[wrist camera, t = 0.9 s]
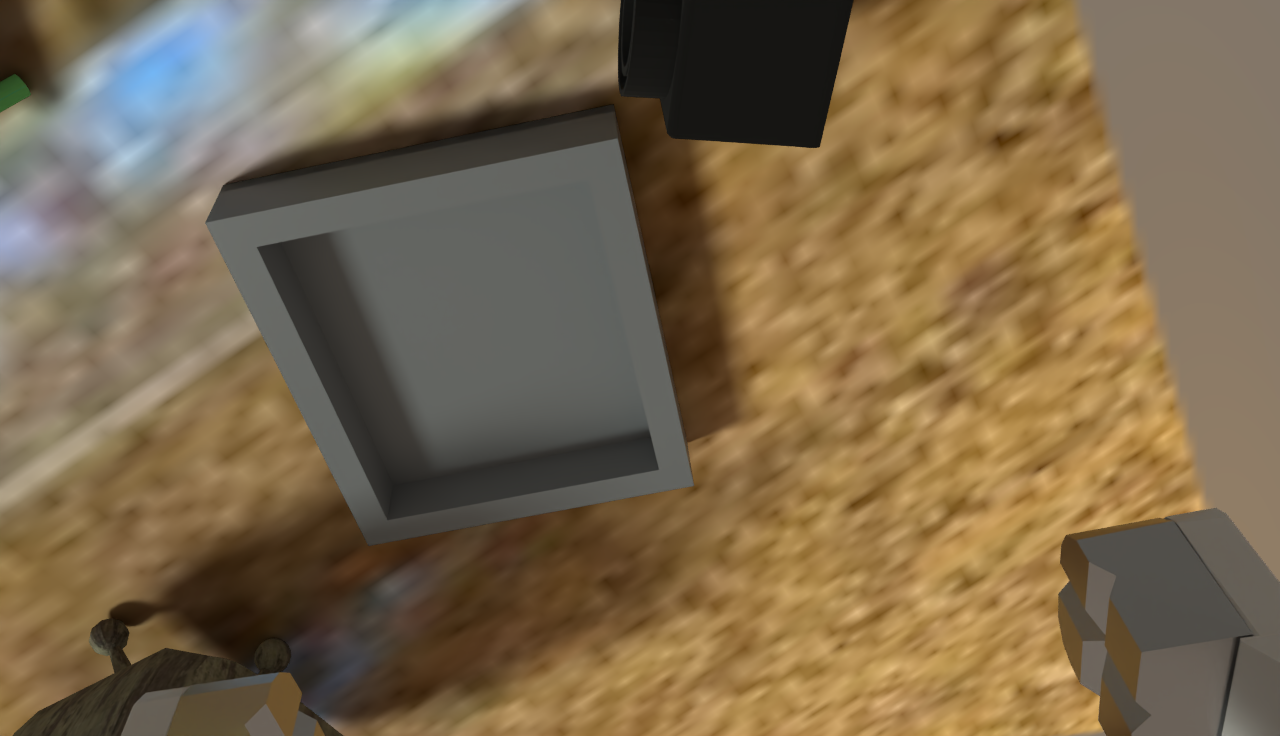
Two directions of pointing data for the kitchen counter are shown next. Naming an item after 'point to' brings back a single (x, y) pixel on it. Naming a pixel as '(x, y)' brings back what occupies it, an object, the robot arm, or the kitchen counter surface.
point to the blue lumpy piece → (12, 91)
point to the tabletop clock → (145, 684)
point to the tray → (465, 324)
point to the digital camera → (735, 66)
